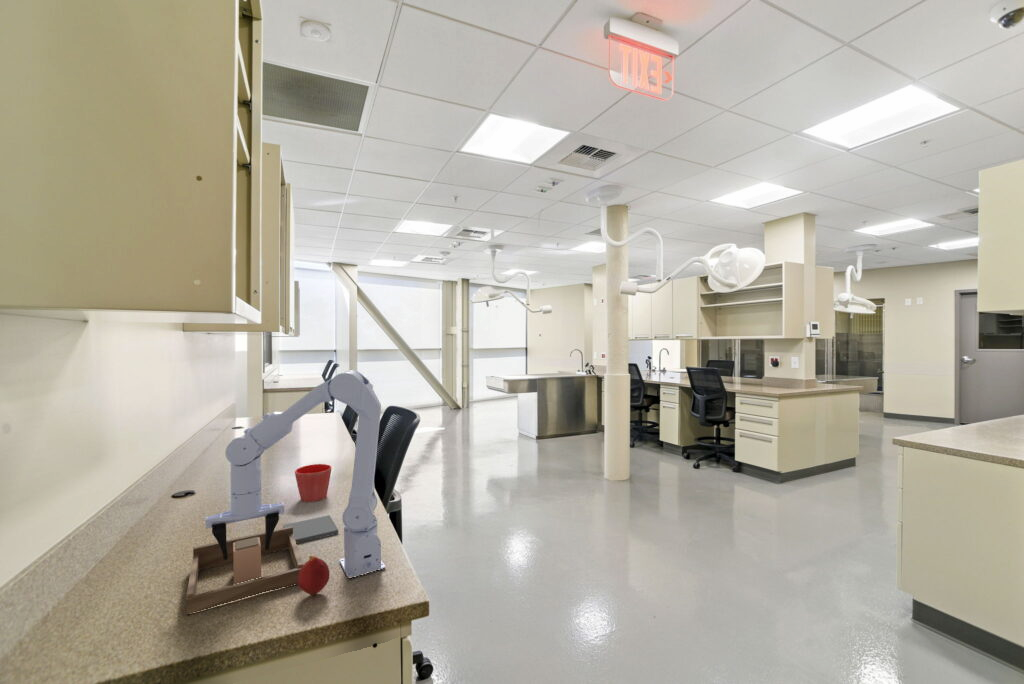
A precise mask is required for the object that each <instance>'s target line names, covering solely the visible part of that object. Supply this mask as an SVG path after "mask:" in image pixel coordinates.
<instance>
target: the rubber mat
mask: <svg viewBox="0 0 1024 684" xmlns="http://www.w3.org/2000/svg"><path fill="white" fill-rule="evenodd" d="M290 526H293V535H294V538H295V541H296V543H297V544H299V543H298V542H301V543H303V542H302V541H305V542H308V541H307V540H309V541H312V540H311V539H313V540H316V539H315V538H318V539H321V538H320V537H322V538H325V537H324V536H326V537H328V536H327V535H330V536H333V535H332V534H334V535H337V534H336V533H338V534H339V528H338V527H337V525H336V524H335V522H334V521H333V518H332V517H331V515H330V514H328V515H323V516H318V517H315V518H314V517H313V518H310V519H305V520H301V521H295V522H291V523H287V524H282V528H286V527H290Z"/></svg>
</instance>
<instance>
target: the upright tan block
mask: <svg viewBox="0 0 1024 684" xmlns="http://www.w3.org/2000/svg"><path fill="white" fill-rule="evenodd" d="M232 563H233V585H234V584H237V583H241V582H245V581H248V580H251V579H256V578H259V577H262V555H261V543H260V537H254V538H250V539H245V540H241V541H236V542H235V543H233V562H232Z"/></svg>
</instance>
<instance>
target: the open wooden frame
mask: <svg viewBox="0 0 1024 684" xmlns="http://www.w3.org/2000/svg"><path fill="white" fill-rule="evenodd" d="M254 537H260V543H261V556H264V555H263V554H265V555H267V554H266V553H269V554H272V553H271V552H273V553H275V552H274V551H277V552H280V551H279V550H281V551H284V550H283V549H285V550H287V549H286V548H289V549H288V551H289V554H291V555H290V558H291V562H292V561H293V562H292V565H293V564H294V565H293V568H292V569H289V570H285V571H281V572H277V573H273V574H269V575H266V576H261V578H258V579H254V580H250V581H246V582H243V583H239V584H235V585H234V584H232V585H228V586H223V587H221V588H217V589H213V590H210V591H206V592H201V593H197V589H198V581H199V574H200V573H199V572H200V571H201V570H205V569H210V568H215V567H218V566H219V567H220V566H223V565H226V564H232V563H233V543H235V542H236V541H241V540H245V539H250V538H254ZM226 541H227V550H228V559H226V560H224V558H223V553H222V550H221V547H220V545H219V543H218V541H217V542H212V543H207V544H203V545H199V546H195V547H193V548H192V561H191V568H190V574H189V579H188V585H187V591H186V600H185V601H186V602H185V603H186V604H185V606H186V614H185V615H186V616H187V614H190V613H193V612H197V611H201V610H204V609H208V608H211V607H214V606H217V605H220V604H224V603H228V602H231V601H235V600H238V599H242V598H245V597H248V596H252V595H256V594H259V593H262V592H266V591H270V590H275V589H279V588H282V587H287V586H290V587H292V586H291V585H294V584H297V585H298V574H299V571H300V570H301V568H302V566H303V565H304V562H303V558H302V556H301V553H300V551H299V547H298V543H297V544H296V541H295V538H294V535H293V526H290V527H286V528H283V527H282V528H277V529H274V531H273V534H272V537H271V540H270V545H269V550H265V531H262V532H259V533H254V534H250V535H244V536H240V537H236V538H231V539H226ZM294 586H295V585H294ZM287 588H288V587H287Z"/></svg>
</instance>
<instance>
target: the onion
mask: <svg viewBox="0 0 1024 684" xmlns="http://www.w3.org/2000/svg"><path fill="white" fill-rule="evenodd" d="M308 558H309V560H307V561H306V562H304V563H303V566H302V568H301V570H300V571H299V574H298V584H297V586H298V587H299V589H300V590H301V591H302V592H304V593H306V594H309V595H310V596H311V595H314V596H316V595H317V594H318V593H320V592H321V591H322V590H323V589H324V588H325V587H326V585H327V584H328V582H329V579H330V567H329V565H328V564H327V562H326V561H325V560H323V559H322V558H319V557H317V556H315V555H313V554H312V555H310V556H308ZM315 594H316V595H315Z"/></svg>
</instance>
